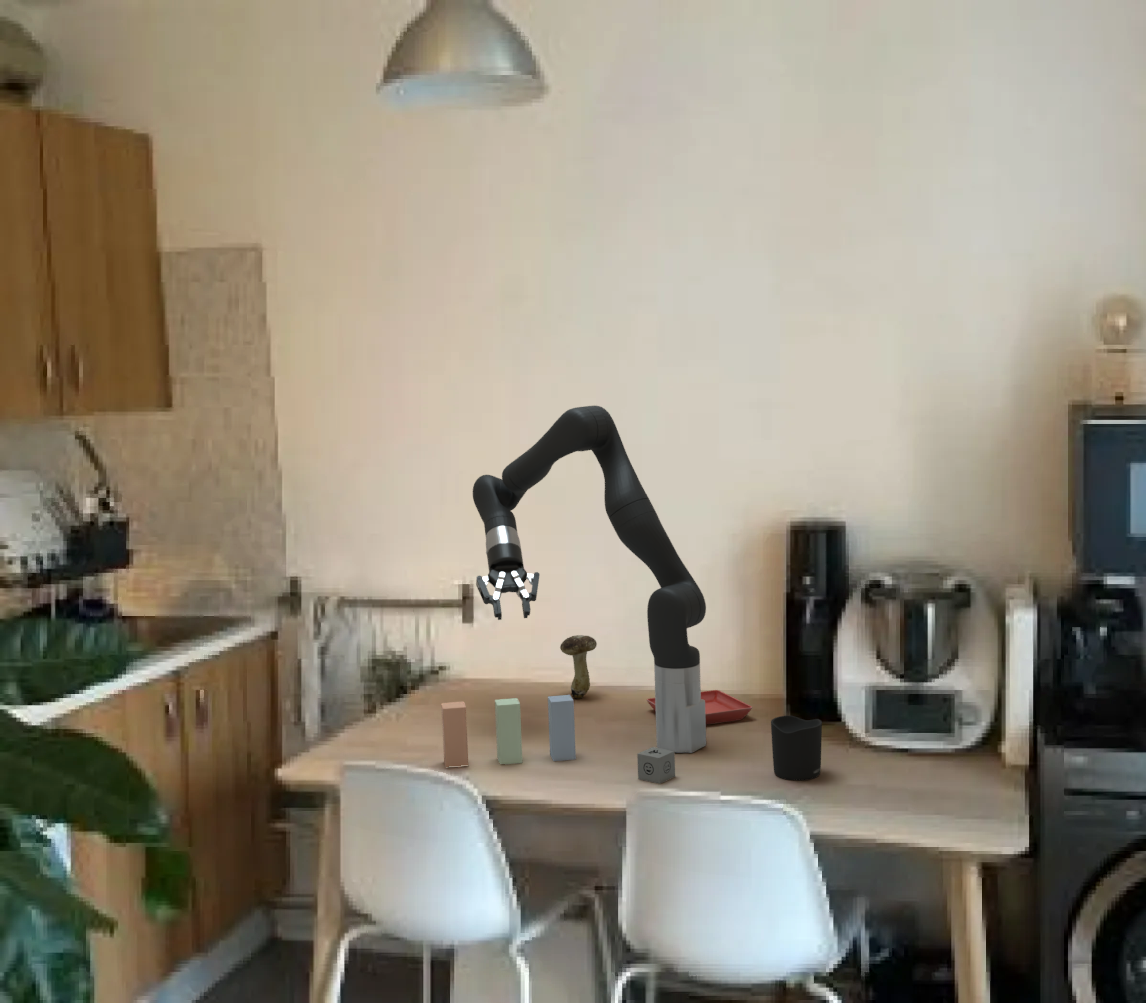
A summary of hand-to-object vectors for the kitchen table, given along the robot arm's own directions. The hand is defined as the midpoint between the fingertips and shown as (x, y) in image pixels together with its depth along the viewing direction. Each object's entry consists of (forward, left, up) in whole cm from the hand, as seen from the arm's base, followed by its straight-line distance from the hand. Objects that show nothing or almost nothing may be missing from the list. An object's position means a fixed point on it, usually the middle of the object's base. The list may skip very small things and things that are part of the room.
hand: (513, 616), depth 267 cm
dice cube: (-39, +8, -26) cm, 48 cm away
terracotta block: (0, +20, -26) cm, 33 cm away
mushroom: (+7, -33, -26) cm, 43 cm away
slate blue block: (-16, +6, -26) cm, 31 cm away
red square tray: (-25, -33, -27) cm, 49 cm away
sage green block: (-8, +13, -26) cm, 30 cm away
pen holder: (-61, -7, -26) cm, 67 cm away
